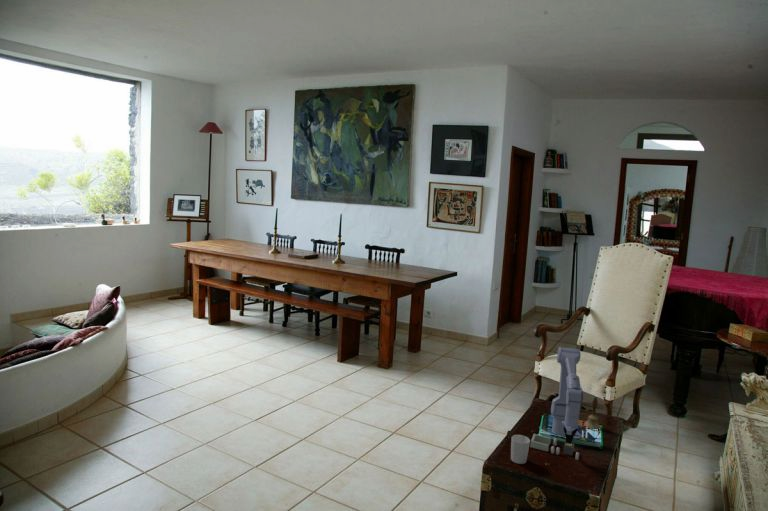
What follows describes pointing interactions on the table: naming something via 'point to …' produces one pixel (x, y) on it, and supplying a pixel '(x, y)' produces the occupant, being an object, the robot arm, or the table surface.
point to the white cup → (519, 448)
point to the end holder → (537, 444)
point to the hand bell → (593, 417)
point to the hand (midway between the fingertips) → (568, 442)
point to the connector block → (568, 449)
